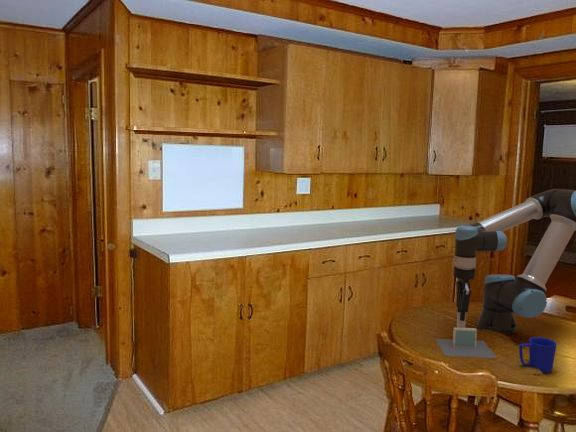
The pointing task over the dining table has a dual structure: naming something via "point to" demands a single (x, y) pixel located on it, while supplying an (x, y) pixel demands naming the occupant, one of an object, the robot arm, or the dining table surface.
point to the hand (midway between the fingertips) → (460, 327)
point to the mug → (540, 353)
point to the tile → (464, 337)
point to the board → (465, 349)
